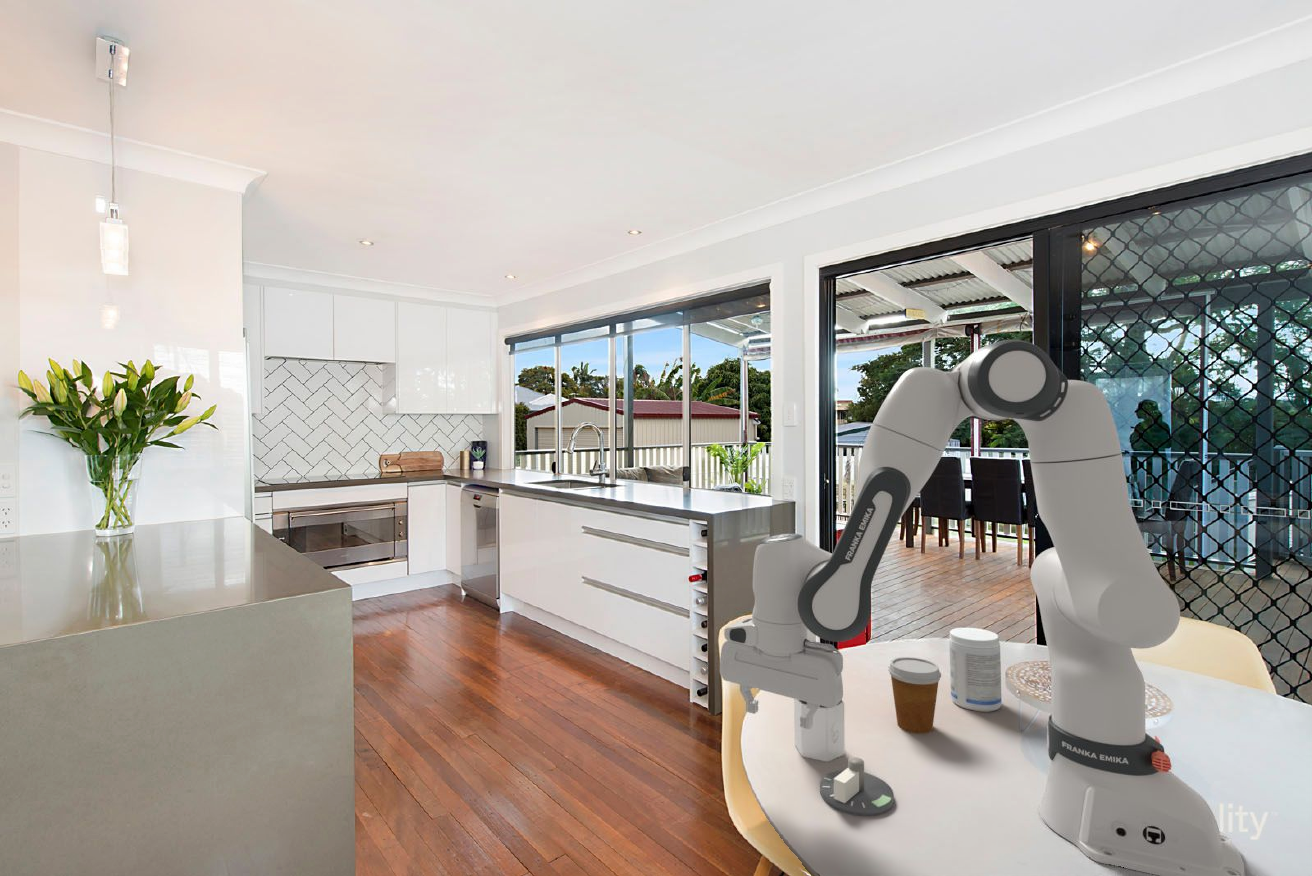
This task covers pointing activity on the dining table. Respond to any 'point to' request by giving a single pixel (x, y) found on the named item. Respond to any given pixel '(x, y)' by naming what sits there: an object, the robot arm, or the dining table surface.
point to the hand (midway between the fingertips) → (778, 719)
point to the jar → (820, 732)
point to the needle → (849, 780)
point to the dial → (860, 796)
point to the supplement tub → (975, 669)
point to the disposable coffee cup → (914, 692)
